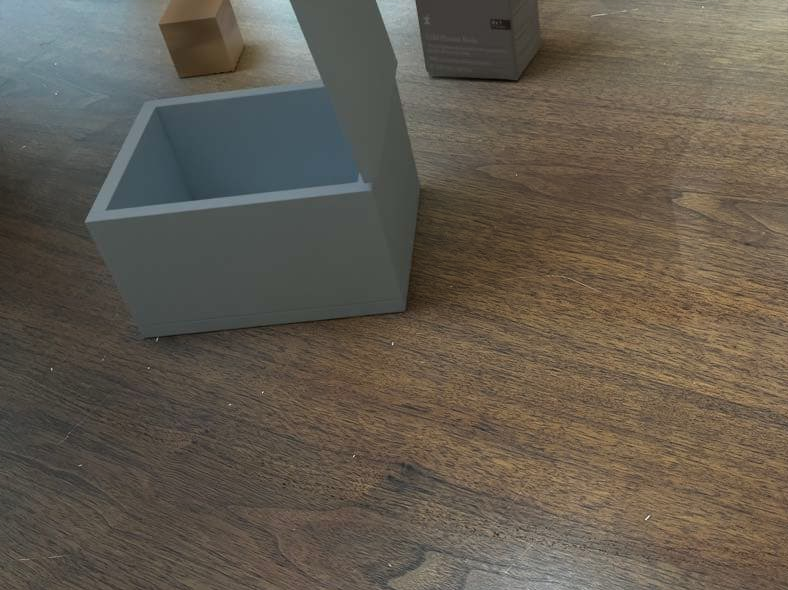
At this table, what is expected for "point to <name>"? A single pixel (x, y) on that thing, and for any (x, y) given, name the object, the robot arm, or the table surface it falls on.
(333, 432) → the table surface
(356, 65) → the lid
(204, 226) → the compartment
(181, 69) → the block
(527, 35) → the cosmetic box
